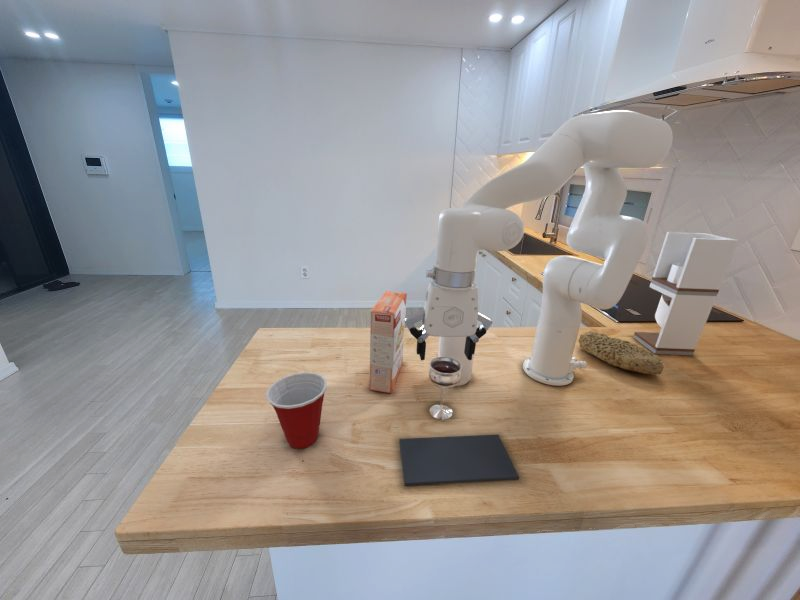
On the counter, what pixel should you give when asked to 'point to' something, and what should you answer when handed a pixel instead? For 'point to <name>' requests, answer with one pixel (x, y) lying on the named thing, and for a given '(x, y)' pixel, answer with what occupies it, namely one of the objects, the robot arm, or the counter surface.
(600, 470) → the counter surface
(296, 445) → the plastic cup
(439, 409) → the wineglass
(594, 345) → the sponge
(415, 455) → the placemat
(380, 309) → the cracker box
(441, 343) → the alcohol
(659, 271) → the white shelf stand
